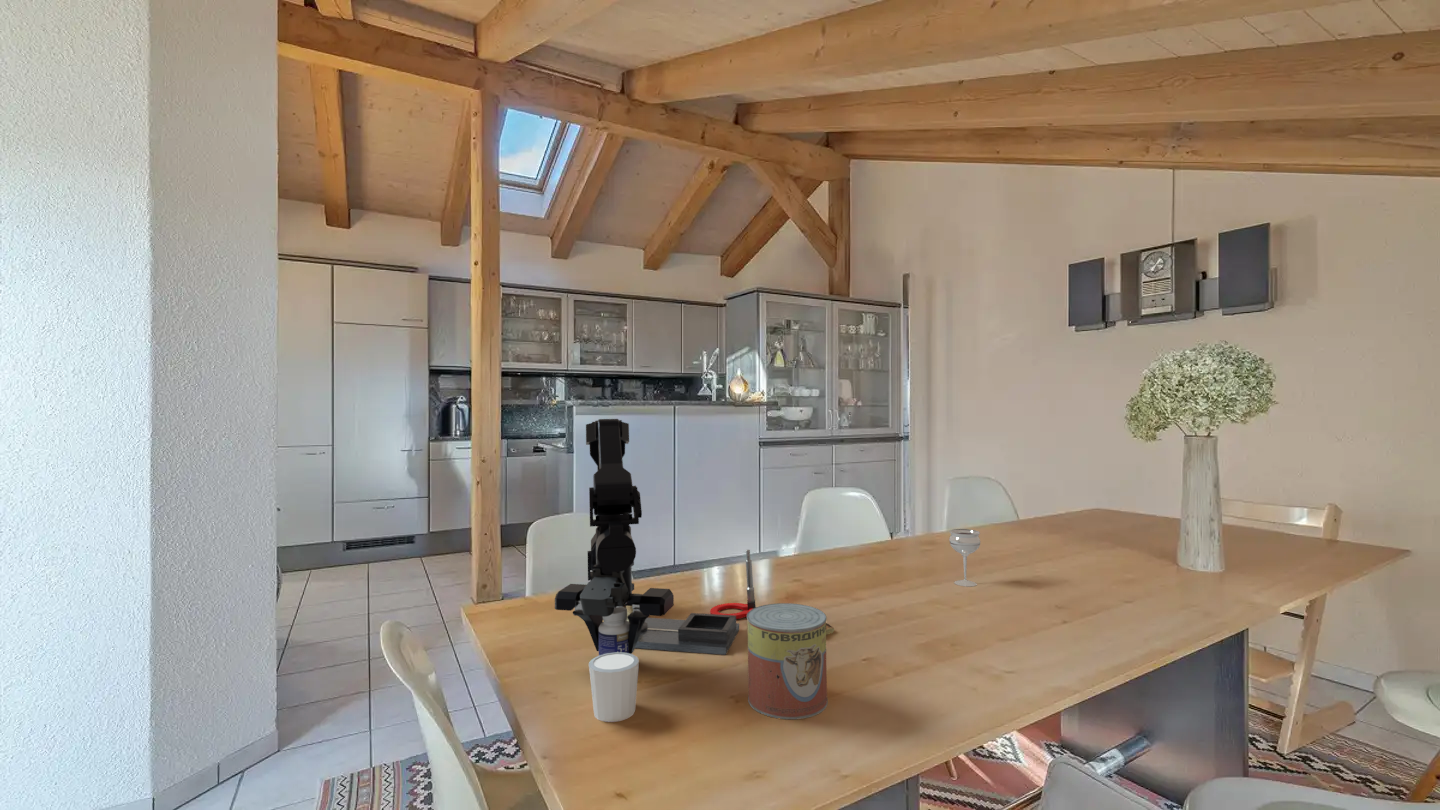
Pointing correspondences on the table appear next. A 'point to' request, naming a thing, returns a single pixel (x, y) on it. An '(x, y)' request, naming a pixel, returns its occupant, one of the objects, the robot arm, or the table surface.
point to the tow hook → (750, 596)
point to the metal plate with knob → (688, 633)
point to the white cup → (614, 685)
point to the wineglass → (964, 548)
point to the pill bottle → (614, 632)
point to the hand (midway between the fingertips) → (615, 651)
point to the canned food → (787, 660)
